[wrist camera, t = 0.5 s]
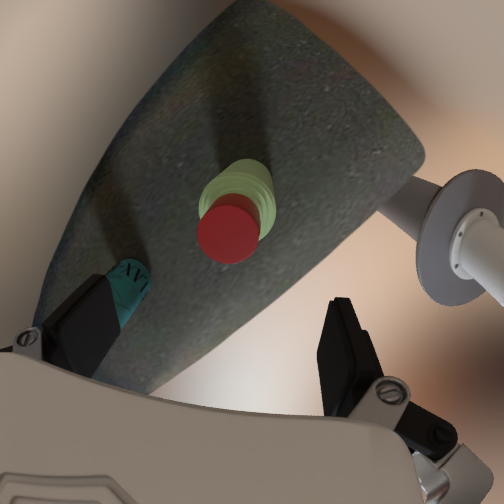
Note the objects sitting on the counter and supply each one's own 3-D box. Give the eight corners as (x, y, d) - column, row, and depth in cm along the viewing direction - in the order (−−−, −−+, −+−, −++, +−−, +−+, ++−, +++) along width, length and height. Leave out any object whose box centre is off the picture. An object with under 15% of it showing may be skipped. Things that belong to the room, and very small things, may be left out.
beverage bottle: (162, 286, 41) (106, 383, 23) (128, 292, 42) (67, 380, 24) (146, 248, 39) (71, 334, 21) (112, 257, 40) (36, 336, 22)
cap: (263, 195, 20) (262, 208, 16) (258, 245, 21) (256, 266, 18) (209, 191, 20) (197, 202, 17) (207, 240, 22) (196, 261, 18)
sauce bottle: (279, 168, 34) (294, 203, 17) (262, 214, 36) (259, 288, 19) (230, 152, 33) (194, 170, 16) (215, 198, 36) (171, 259, 19)
